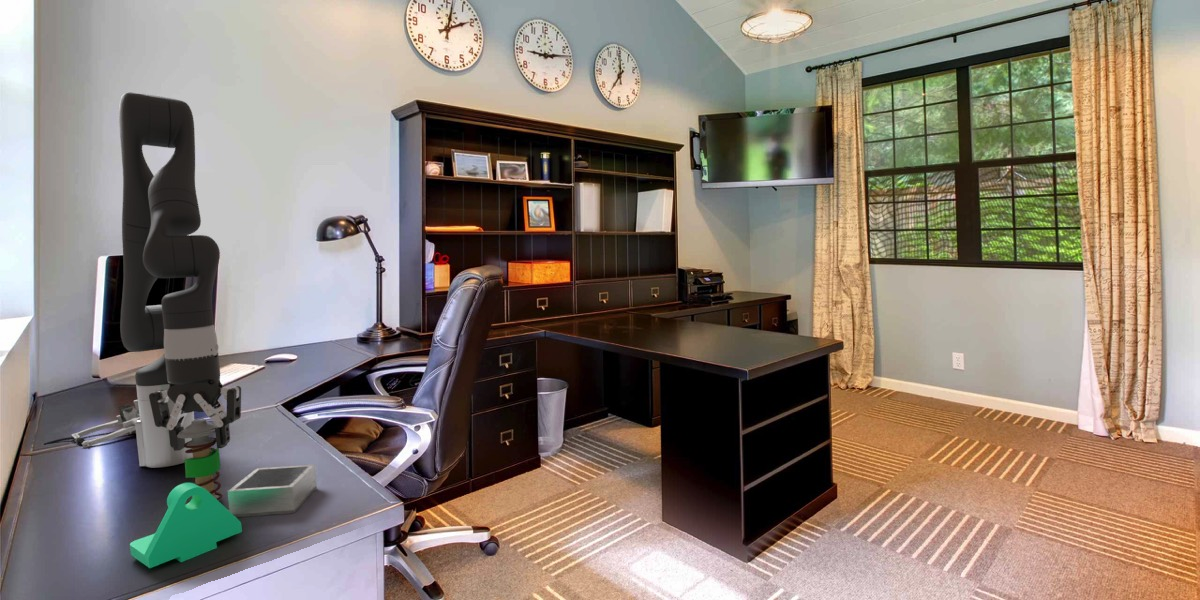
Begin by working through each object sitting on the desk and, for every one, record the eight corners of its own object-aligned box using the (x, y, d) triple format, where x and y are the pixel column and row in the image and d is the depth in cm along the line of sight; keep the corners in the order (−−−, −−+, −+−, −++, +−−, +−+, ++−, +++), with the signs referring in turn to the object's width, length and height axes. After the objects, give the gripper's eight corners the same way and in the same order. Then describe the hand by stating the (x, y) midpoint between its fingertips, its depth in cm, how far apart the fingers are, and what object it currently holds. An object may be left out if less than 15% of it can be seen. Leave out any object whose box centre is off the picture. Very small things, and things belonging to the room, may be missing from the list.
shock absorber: (218, 493, 109) (210, 413, 107) (234, 501, 105) (226, 418, 104) (178, 506, 104) (169, 422, 102) (193, 515, 100) (185, 428, 98)
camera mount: (219, 526, 96) (213, 464, 95) (242, 538, 92) (236, 474, 91) (129, 560, 86) (121, 492, 85) (150, 575, 82) (142, 504, 81)
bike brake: (147, 419, 156) (47, 453, 141) (139, 395, 155) (37, 426, 140) (163, 429, 148) (59, 466, 133) (155, 404, 146) (49, 438, 131)
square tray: (230, 517, 99) (227, 491, 98) (258, 492, 109) (256, 468, 108) (294, 512, 100) (292, 487, 99) (316, 488, 110) (314, 464, 109)
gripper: (132, 359, 97) (142, 458, 99) (225, 355, 99) (234, 452, 100) (160, 351, 105) (170, 443, 106) (247, 347, 106) (255, 438, 108)
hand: (201, 447), depth 103 cm, fingers closed on shock absorber, 6 cm apart
